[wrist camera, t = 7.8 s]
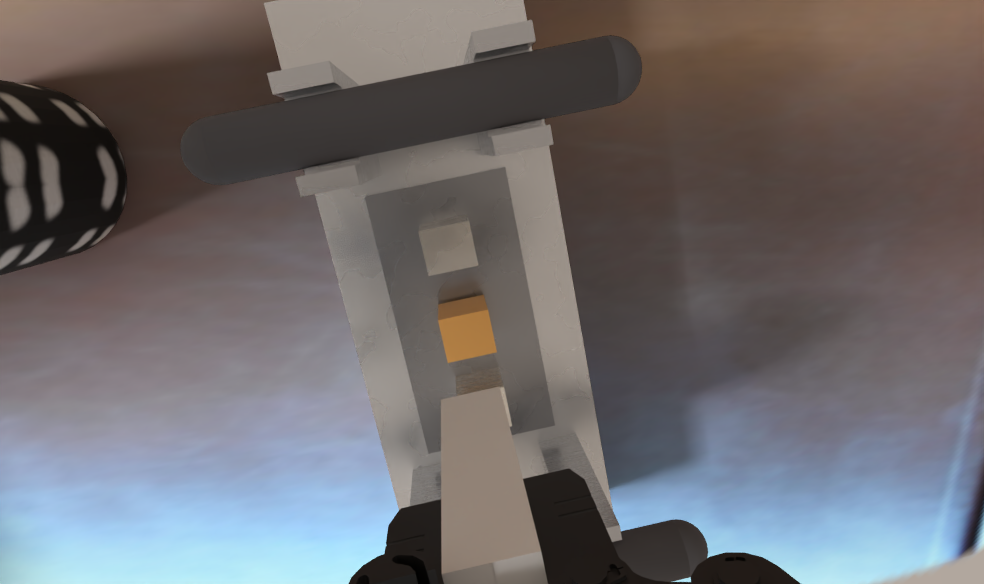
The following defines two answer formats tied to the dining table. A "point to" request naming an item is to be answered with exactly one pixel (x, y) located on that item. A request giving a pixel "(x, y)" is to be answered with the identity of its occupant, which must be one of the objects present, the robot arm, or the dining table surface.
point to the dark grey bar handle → (663, 550)
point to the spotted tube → (54, 177)
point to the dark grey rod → (411, 110)
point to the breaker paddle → (466, 328)
